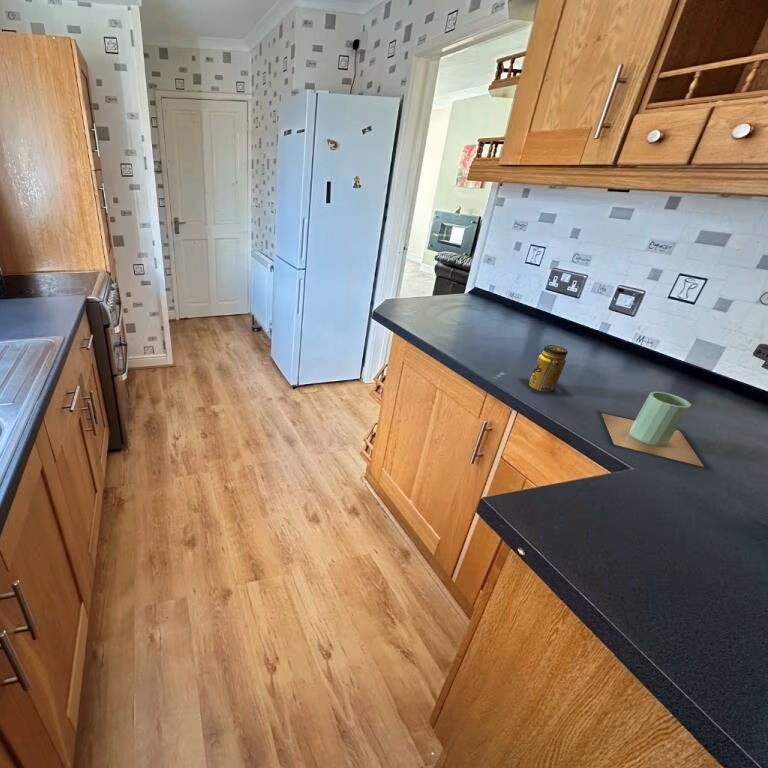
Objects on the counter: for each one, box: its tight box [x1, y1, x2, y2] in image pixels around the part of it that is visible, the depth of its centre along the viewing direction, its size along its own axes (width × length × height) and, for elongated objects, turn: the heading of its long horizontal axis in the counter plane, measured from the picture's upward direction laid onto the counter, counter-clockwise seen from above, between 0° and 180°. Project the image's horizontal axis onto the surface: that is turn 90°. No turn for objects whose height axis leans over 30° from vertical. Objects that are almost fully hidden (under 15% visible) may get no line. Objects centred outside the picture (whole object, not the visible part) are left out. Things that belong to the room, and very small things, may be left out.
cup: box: [629, 391, 692, 446], centre depth 91 cm, size 7×7×10 cm
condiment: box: [528, 344, 568, 393], centre depth 111 cm, size 7×8×12 cm
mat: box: [601, 412, 705, 468], centre depth 93 cm, size 15×15×1 cm
